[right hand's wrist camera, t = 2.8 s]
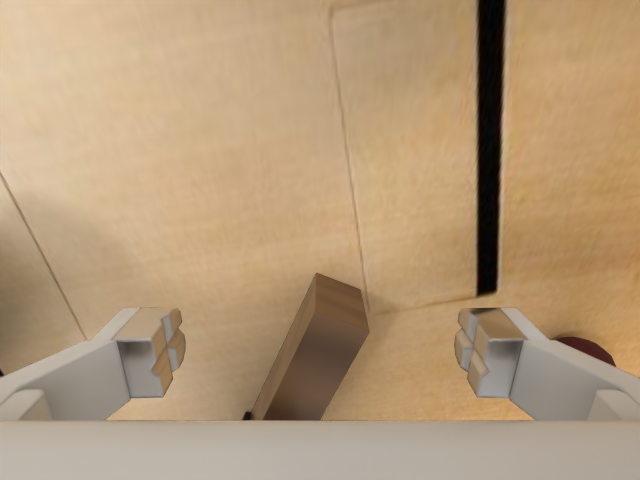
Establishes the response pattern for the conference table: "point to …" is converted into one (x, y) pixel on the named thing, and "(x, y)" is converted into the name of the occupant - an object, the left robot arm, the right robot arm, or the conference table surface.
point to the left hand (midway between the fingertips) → (267, 427)
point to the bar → (314, 353)
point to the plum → (588, 348)
